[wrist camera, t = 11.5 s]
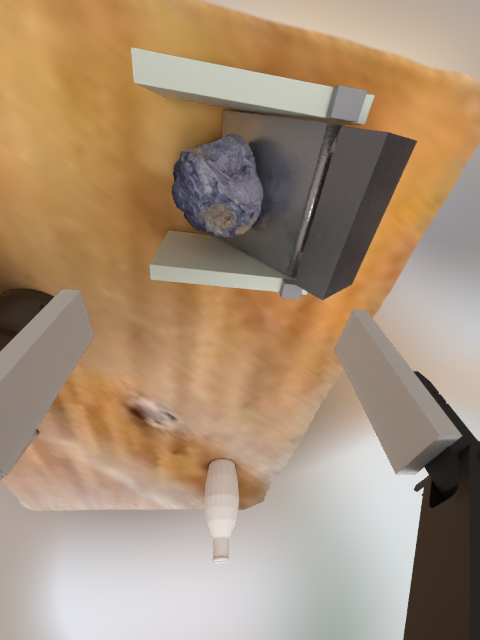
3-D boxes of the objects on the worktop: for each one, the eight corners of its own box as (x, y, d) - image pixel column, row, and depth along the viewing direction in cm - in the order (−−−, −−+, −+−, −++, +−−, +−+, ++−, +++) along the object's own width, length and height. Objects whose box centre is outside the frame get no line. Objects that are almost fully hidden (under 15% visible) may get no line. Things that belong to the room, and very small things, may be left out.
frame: (168, 242, 41) (147, 285, 30) (163, 73, 29) (125, 42, 18) (288, 256, 44) (309, 300, 33) (328, 104, 32) (382, 93, 21)
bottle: (211, 472, 94) (207, 567, 74) (202, 459, 88) (194, 559, 67) (240, 468, 93) (244, 563, 73) (233, 454, 86) (235, 555, 66)
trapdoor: (239, 230, 44) (206, 236, 39) (254, 116, 34) (213, 107, 30) (351, 285, 32) (321, 301, 28) (418, 138, 23) (389, 129, 19)
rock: (184, 169, 36) (143, 167, 27) (250, 128, 31) (226, 111, 23) (217, 242, 39) (190, 260, 31) (280, 214, 35) (269, 227, 27)
